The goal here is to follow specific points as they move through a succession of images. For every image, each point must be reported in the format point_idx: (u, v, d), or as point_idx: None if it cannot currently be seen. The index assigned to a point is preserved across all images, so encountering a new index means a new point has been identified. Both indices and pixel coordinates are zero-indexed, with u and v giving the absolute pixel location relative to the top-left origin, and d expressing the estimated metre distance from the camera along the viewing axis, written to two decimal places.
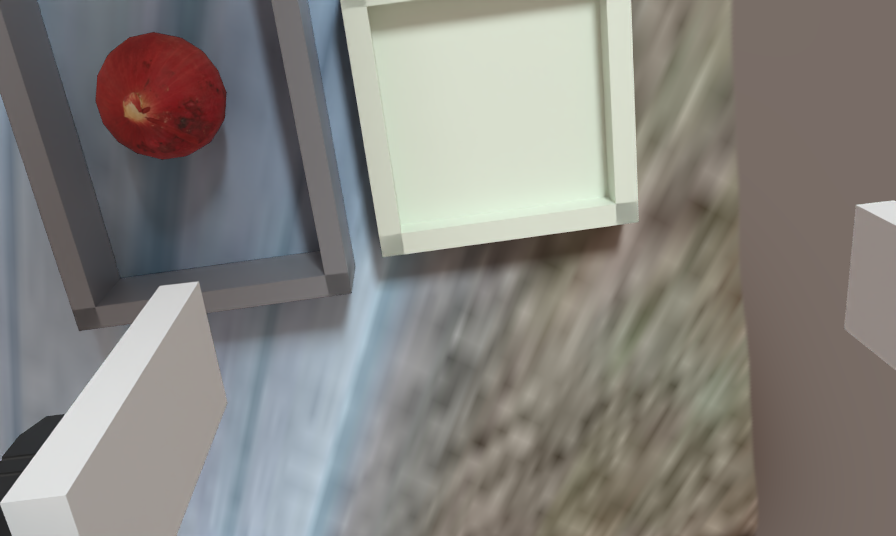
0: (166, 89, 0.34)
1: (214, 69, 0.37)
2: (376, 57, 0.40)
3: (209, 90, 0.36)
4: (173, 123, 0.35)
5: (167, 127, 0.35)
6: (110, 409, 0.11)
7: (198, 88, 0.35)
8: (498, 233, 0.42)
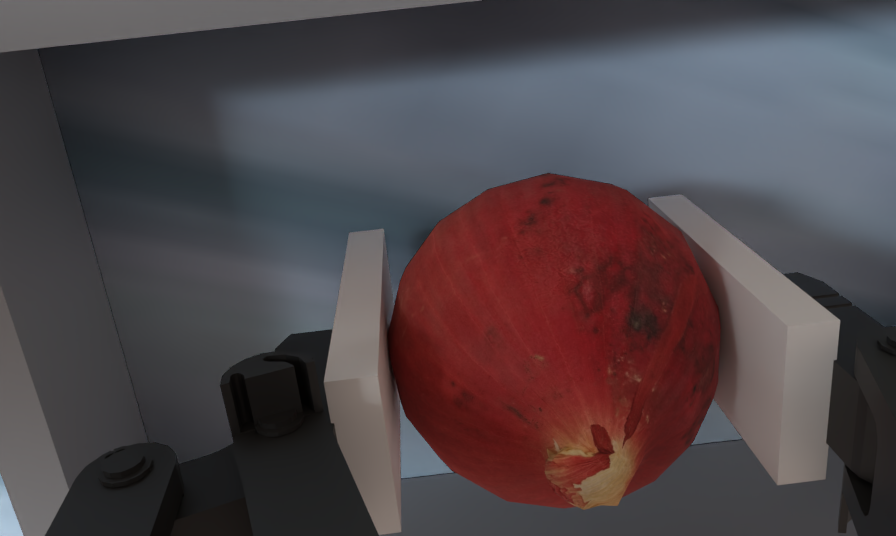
0: (538, 360, 0.11)
1: (487, 200, 0.13)
2: None
3: (545, 227, 0.12)
4: (642, 355, 0.11)
5: (653, 372, 0.11)
6: (372, 319, 0.13)
7: (541, 260, 0.12)
8: None
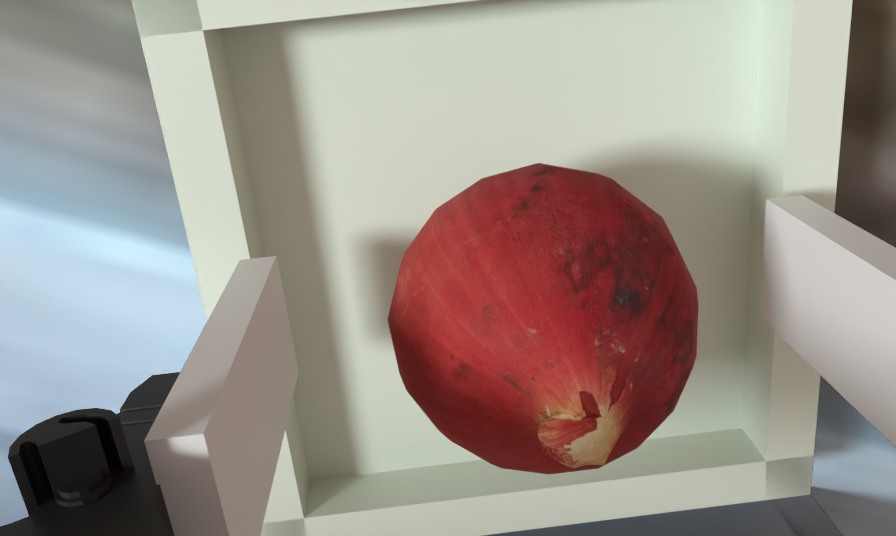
0: (531, 334, 0.12)
1: (482, 187, 0.14)
2: (405, 468, 0.21)
3: (537, 212, 0.13)
4: (626, 328, 0.12)
5: (637, 344, 0.12)
6: (224, 364, 0.12)
7: (533, 242, 0.13)
8: None
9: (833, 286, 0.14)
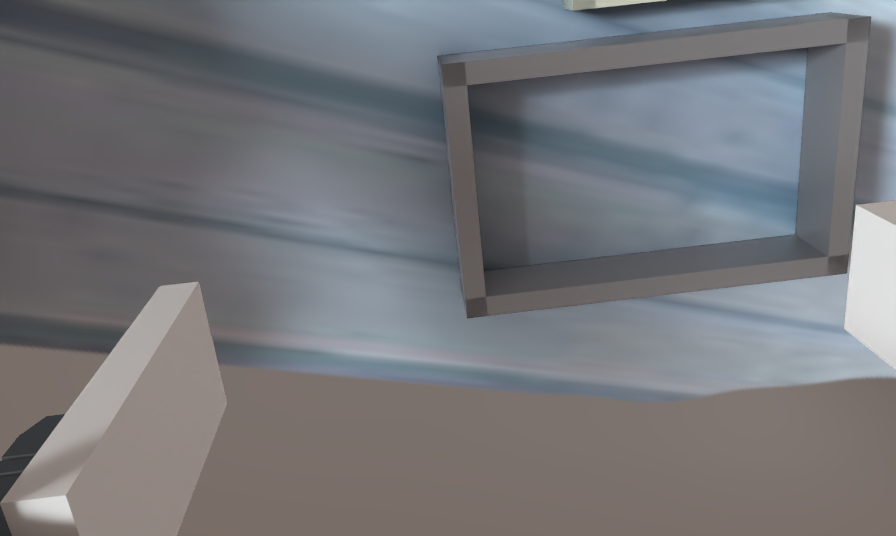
0: None
1: None
2: None
3: None
4: None
5: None
6: (110, 409, 0.11)
7: None
8: None
9: None
